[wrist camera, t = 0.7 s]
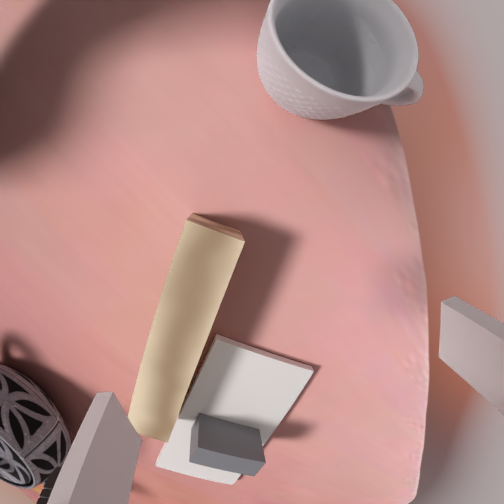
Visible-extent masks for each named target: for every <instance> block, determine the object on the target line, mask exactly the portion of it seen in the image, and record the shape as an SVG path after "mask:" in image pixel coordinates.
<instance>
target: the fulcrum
mask: <svg viewBox="0 0 504 504" xmlns="http://www.w3.org/2000/svg"><path fill="white" fill-rule="evenodd" d="M313 372H314V370H313V368H312V366H310V365H306V364H303V363H300V362H297V361H294V360H290V359H287V358H284V357H281V356H278V355H275V354H272V353H269V352H266V351H263V350H260V349H257V348H254V347H251V346H249V345H246V344H243V343H240V342H237V341H235V340H232V339H229V338H226V337H224V336H221V335H218V334H216V336H215V338H214V340H213V342H212V344H211V346H210V348H209V350H208V353H207V355H206V357H205V359H204V361H203V363H202V365H201V367H200V370H199V372H198V374H197V376H196V378H195V380H194V382H193V384H192V386H191V389H190V391H189V393H188V395H187V397H186V399H185V401H184V403H183V405H182V407H181V410H180V412H179V414H178V417H177V419H176V422H175V425H174V427H173V430H172V433H171V435H170V438H169V441H168V442H165V443H164V445H163V447H162V450H161V452H160V454H159V456H158V458H157V460H156V466H158V467H161V468H164V469H168V470H171V471H175V472H178V473H182V474H186V475H189V476H193V477H197V478H202V479H206V480H210V481H215V482H220V483H225V484H230V485H233V484H234V483H235V481H236V480H237V479H238V478H239V476H240V475H241V474H244V475H250V476H255V475H256V474H257V473H258V471H259V470H260V469H261V468H262V466H263V465H264V464H265V463H266V462H265V457H264V451H263V445H264V444H265V443H266V441H267V440H268V439H269V437H270V436H271V435H272V433H273V432H274V430H275V429H276V428H277V426H278V425H279V423H280V422H281V420H282V419H283V418H284V416H285V415H286V413H287V412H288V410H289V409H290V407H291V406H292V404H293V403H294V401H295V400H296V398H297V397H298V395H299V394H300V392H301V391H302V389H303V388H304V386H305V385H306V383H307V382H308V380H309V378H310V377H311V375H312V374H313Z"/></svg>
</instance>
